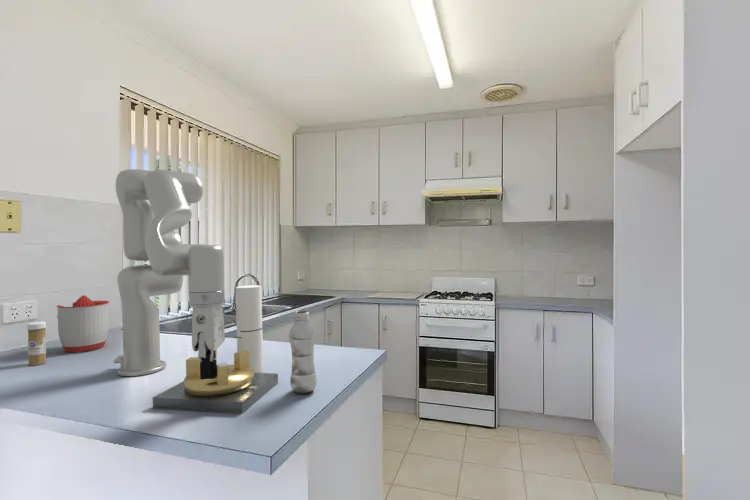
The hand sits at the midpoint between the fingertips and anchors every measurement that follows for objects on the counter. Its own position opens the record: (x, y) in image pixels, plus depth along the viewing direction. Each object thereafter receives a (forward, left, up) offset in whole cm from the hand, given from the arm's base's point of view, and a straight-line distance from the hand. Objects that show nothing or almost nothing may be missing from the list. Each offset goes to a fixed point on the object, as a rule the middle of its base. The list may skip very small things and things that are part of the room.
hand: (208, 377), depth 89 cm
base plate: (-1, +6, -7) cm, 9 cm away
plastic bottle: (+19, +11, -7) cm, 23 cm away
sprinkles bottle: (-76, +24, -7) cm, 80 cm away
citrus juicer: (-78, +42, -7) cm, 89 cm away
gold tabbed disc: (-1, +6, -4) cm, 8 cm away
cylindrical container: (-2, +24, -7) cm, 25 cm away
